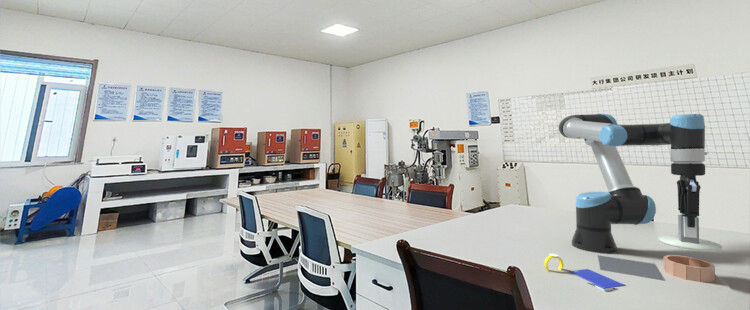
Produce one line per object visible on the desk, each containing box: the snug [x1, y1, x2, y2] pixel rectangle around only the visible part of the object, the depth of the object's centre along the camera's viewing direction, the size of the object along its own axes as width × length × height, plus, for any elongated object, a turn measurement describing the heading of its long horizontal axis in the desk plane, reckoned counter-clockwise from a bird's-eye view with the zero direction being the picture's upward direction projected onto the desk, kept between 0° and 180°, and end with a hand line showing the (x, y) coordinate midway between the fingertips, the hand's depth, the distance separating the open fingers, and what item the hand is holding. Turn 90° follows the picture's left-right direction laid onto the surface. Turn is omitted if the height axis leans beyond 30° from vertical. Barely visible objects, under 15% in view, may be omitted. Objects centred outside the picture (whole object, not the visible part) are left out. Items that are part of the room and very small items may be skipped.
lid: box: [657, 214, 723, 252], centre depth 94 cm, size 14×14×9 cm
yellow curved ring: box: [543, 253, 564, 273], centre depth 101 cm, size 6×3×6 cm, turn 93°
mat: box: [597, 255, 666, 282], centre depth 102 cm, size 16×16×1 cm
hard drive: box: [568, 268, 627, 292], centre depth 93 cm, size 2×8×12 cm
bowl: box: [662, 254, 716, 283], centre depth 95 cm, size 11×11×5 cm
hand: (688, 235), depth 94 cm, fingers closed on lid, 3 cm apart
